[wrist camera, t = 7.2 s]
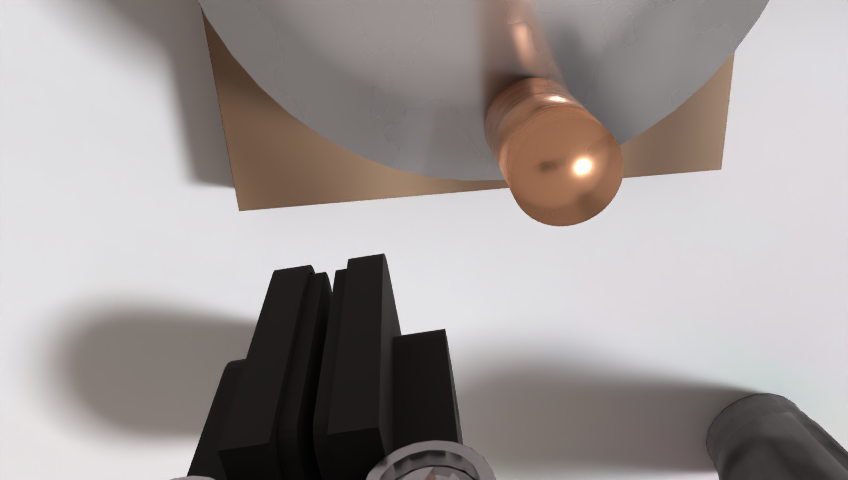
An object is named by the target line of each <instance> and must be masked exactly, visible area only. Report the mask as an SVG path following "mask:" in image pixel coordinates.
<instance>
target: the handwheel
mask: <svg viewBox="0 0 848 480" xmlns="http://www.w3.org/2000/svg"><path fill="white" fill-rule="evenodd" d="M768 1H769V0H198V2H199V4H200V6H201V8H202V9H203V11H204V13H205V15H206V17H207V19H208V20H209V22H210V23H211V25H212V26H213V28H214V29H215V31H216V32H217V34H218V35H219V37H220V38H221V40H222V41H223V42H224V44H225V45H226V47H227V48H228V50H229V51H230V53H231V54H232V56H233V57H234V58H235V59H236V60H237V61H238V62H239V64H240V65H241V66H242V67H243V68H244V69H245V70H246V72H247V73H248V74H249V75H250V76H251V77H252V78H253V80H254V81H255V82H256V83H257V84H258V85H259V86H260V87H261V88H262V89H263V90H264V91H265V92H266V93H267V94H268V95H269V96H271V97H272V98H273V99H274V100H275V101H276V102H277V103H278V104H279V105H281V106H282V107H283V108H284V109H285V110H286V111H287V112H288V113H289V114H291V115H292V116H294V117H295V118H296V119H298V120H299V121H301V122H302V123H304V124H305V125H306V126H308V127H309V128H311V129H312V130H314V131H315V132H316V133H318V134H319V135H321V136H322V137H324V138H326V139H328V140H330V141H332V142H333V143H335V144H337V145H339V146H341V147H343V148H345V149H347V150H349V151H351V152H352V153H354V154H356V155H359V156H361V157H364V158H367V159H369V160H372V161H375V162H377V163H380V164H383V165H385V166H388V167H391V168H394V169H398V170H402V171H407V172H411V173H415V174H419V175H423V176H428V177H436V178H445V179H455V180H464V181H470V180H506V182H507V184H508V186H509V188H510V190H511V192H512V194H513V196H514V198H515V200H516V202H517V204H518V205H519V206H520V208H521V209H522V210H523V211H524V212H525V213H526V214H527V215H529V216H530V217H531V218H533V219H535V220H536V221H538V222H541V223H544V224H547V225H552V226H569V225H575V224H579V223H582V222H584V221H587V220H589V219H591V218H592V217H594V216H596V215H597V214H598V213H600V212H601V211H602V210H603V209H605V208H606V207H607V205H608V204H609V203H610V202H611V201H612V199H613V198H614V197H615V195H616V193H617V191H618V189H619V187H620V184H621V181H622V178H623V171H624V160H623V154H622V151H621V148H620V146H619V145H621V144H623V143H625V142H627V141H628V140H630V139H632V138H634V137H636V136H638V135H639V134H641V133H643V132H644V131H646V130H647V129H649V128H650V127H652V126H653V125H654V124H656V123H657V122H659V121H660V120H662V119H663V118H664V117H666V116H667V115H669V114H670V113H672V112H673V111H674V110H676V109H677V108H678V107H679V106H680V105H681V104H682V103H684V102H685V101H686V100H687V99H688V98H689V97H690V96H692V95H693V94H694V93H695V92H696V91H697V90H698V89H699V88H701V87H702V86H703V85H704V84H705V83H706V82H707V81H708V80H709V79H710V78H711V77H712V75H713V74H714V73H715V72H716V71H717V70H718V69H719V68H720V67H721V66H722V64H723V63H724V62H725V61H726V60H727V59H728V58H729V57H730V56H731V55H732V54H733V52H734V51H735V50H736V48H737V47H738V46H739V44H740V43H741V42H742V40H743V39H744V37H745V36H746V35H747V33H748V32H749V31H750V29H751V28H752V26H753V25H754V24H755V22H756V21H757V20H758V18H759V17H760V15H761V13H762V12H763V10H764V8H765V6H766V5H767V3H768Z"/></svg>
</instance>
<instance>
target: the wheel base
mask: <svg viewBox="0 0 848 480" xmlns="http://www.w3.org/2000/svg"><path fill="white" fill-rule="evenodd" d="M201 9H202V8H201ZM202 14H203V20H204V25H205V30H206V36H207V41H208V47H209V52H210V57H211V63H212V68H213V73H214V79H215V84H216V89H217V95H218V100H219V106H220V111H221V116H222V122H223V127H224V132H225V138H226V143H227V148H228V154H229V159H230V165H231V170H232V175H233V181H234V186H235V191H236V197H237V202H238V207H239V211H246V210H257V209H269V208H281V207H292V206H304V205H315V204H327V203H339V202H350V201H362V200H373V199H385V198H397V197H408V196H420V195H431V194H443V193H454V192H466V191H478V190H489V189H501V188H509V186H508V184H507V182H506V180H470V181H464V180H455V179H445V178H436V177H428V176H423V175H419V174H415V173H411V172H407V171H402V170H398V169H394V168H391V167H388V166H385V165H383V164H380V163H377V162H375V161H372V160H369V159H367V158H364V157H361V156H359V155H356V154H354V153H352V152H351V151H349V150H347V149H345V148H343V147H341V146H339V145H337V144H335V143H333V142H332V141H330V140H328V139H326V138H324V137H322V136H321V135H319V134H318V133H316V132H315V131H314V130H312V129H311V128H309V127H308V126H306V125H305V124H304V123H302V122H301V121H299V120H298V119H296V118H295V117H294V116H292V115H291V114H289V113H288V112H287V111H286V110H285V109H284V108H283V107H282V106H281V105H279V104H278V103H277V102H276V101H275V100H274V99H273V98H272V97H271V96H269V95H268V94H267V93H266V92H265V91H264V90H263V89H262V88H261V87H260V86H259V85H258V84H257V83H256V82H255V81H254V80H253V78H252V77H251V76H250V75H249V74H248V73H247V72H246V70H245V69H244V68H243V67H242V66H241V65H240V64H239V62H238V61H237V60H236V59H235V58H234V57H233V56H232V54H231V53H230V51H229V50H228V48H227V47H226V45H225V44H224V42H223V41H222V40H221V38H220V37H219V35H218V34H217V32H216V31H215V29H214V28H213V26H212V25H211V23H210V22H209V20H208V19H207V17H206V15H205V13H204V11H203V9H202ZM734 53H735V51H734V52H733V54H732V55H731V56H730V57H729V58H728V59H727V60H726V61H725V62H724V63H723V64H722V66H721V67H720V68H719V69H718V70H717V71H716V72H715V73H714V74H713V75H712V77H711V78H710V79H709V80H708V81H707V82H706V83H705V84H704V85H703V86H702V87H701V88H699V89H698V90H697V91H696V92H695V93H694V94H693V95H692V96H690V97H689V98H688V99H687V100H686V101H685V102H684V103H682V104H681V105H680V106H679V107H678V108H677V109H676V110H674V111H673V112H672V113H670V114H669V115H667V116H666V117H664V118H663V119H662V120H660V121H659V122H657V123H656V124H654V125H653V126H652V127H650V128H649V129H647V130H646V131H644V132H643V133H641V134H639V135H638V136H636V137H634V138H632V139H630V140H628V141H627V142H625V143H623V144H621V145H619V146H620V148H621V151H622V154H623V160H624V171H623V178H628V177H640V176H651V175H663V174H675V173H686V172H698V171H709V170H721V166H722V158H723V149H724V140H725V131H726V123H727V114H728V105H729V96H730V88H731V79H732V70H733V62H734Z"/></svg>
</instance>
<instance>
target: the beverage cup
mask: <svg viewBox="0 0 848 480" xmlns="http://www.w3.org/2000/svg"><path fill="white" fill-rule="evenodd" d="M706 444H707V448H708V453H709V455H710V457H711V458H712V460H713V462H714V465H715V468H716V470H717V472H718V476H719V480H848V452H847V451H846V450H845V449H844V448H843V447H842V446H841V445H840V444H839V443H838V442H837V441H836V440H834V439H833V438H832V437H831V436H830V435H829V434H828V433H827V432H826V431H825V430H824V429H823V428H822V427H821V426H820V425H819V424H818V423H816V422H815V421H813V420H812V419H810V418H809V417H808V416H807V415H806V414H805V413H803V412H802V411H800V410H799V408H798V407H797V406H796V405H795V404H794V403H793V402H791V401H790V400H788V399H786V398H785V397H782V396H778V395H773V394H759V395H753V396H750V397H746V398H743V399H740V400H738V401H737V402H735V403H733V404H732V405H730V406H728V407H727V408H725V409H724V410H723V411H722V412H721V413H720V414H719V415H718V416H717V417H716V418H715V420H714V422H713V423H712V425H711V427H710V429H709V431H708V436H707V441H706Z"/></svg>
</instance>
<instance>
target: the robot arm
mask: <svg viewBox="0 0 848 480" xmlns="http://www.w3.org/2000/svg"><path fill="white" fill-rule="evenodd" d="M171 480H496V478H495V476H494V473H493V471H492V469H491V467H490V466H489V464H488V463H487V461H486V460H485V458H484V457H483V456H481V455H480V454H479V453H477V452H476V451H475V450H473V449H472V448H470V447H467V446H464V445H463V441H462V433H461V426H460V418H459V411H458V404H457V398H456V391H455V385H454V378H453V372H452V366H451V360H450V354H449V348H448V342H447V336H446V331H445V329H441V330H435V331H428V332H421V333H415V334H408V335H402V336H401V331H400V325H399V320H398V315H397V310H396V305H395V300H394V295H393V290H392V285H391V280H390V275H389V269H388V265H387V260H386V257H385V254H378V255H371V256H365V257H358V258H352V259H348V264H347V269H342V270H336V272H335V278H334V285H333V292H332V289H331V285H330V281H329V278H328V275H327V273H326V272H323V273H316V274H315V272H314V269H313V267H312V266H311V265H307V266H300V267H294V268H287V269H281V270H274V272H273V275H272V278H271V281H270V284H269V287H268V290H267V294H266V297H265V300H264V303H263V306H262V310H261V313H260V316H259V319H258V322H257V326H256V329H255V332H254V335H253V338H252V342H251V345H250V348H249V351H248V354H247V358H246V359H242V360H236V361H231V362H229V363H228V364H227V365H226V367H225V369H224V372H223V375H222V377H221V380H220V383H219V386H218V389H217V392H216V395H215V397H214V400H213V403H212V406H211V409H210V412H209V414H208V417H207V420H206V423H205V426H204V429H203V431H202V434H201V437H200V440H199V443H198V446H197V449H196V451H195V454H194V457H193V460H192V463H191V466H190V468H189V471H188V474H187V477H180V478H174V479H171Z"/></svg>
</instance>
